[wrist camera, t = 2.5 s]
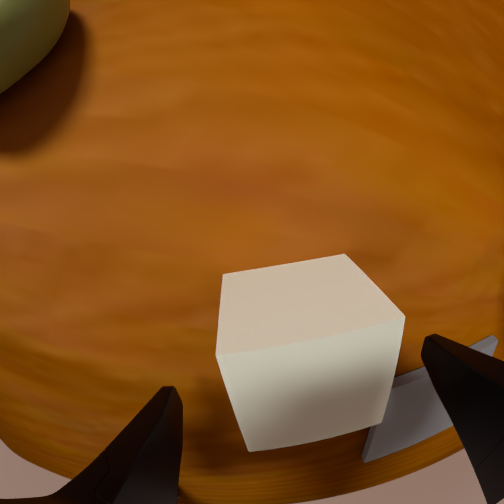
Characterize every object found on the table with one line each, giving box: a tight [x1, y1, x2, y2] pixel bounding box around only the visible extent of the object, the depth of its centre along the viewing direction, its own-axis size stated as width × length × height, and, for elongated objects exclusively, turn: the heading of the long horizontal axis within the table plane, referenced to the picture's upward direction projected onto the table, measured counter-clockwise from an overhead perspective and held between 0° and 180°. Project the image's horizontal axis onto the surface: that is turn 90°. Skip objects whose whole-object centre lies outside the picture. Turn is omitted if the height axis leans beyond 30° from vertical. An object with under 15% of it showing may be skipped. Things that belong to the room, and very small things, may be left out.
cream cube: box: [216, 254, 405, 452], centre depth 10 cm, size 5×5×5 cm
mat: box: [362, 335, 498, 463], centre depth 15 cm, size 10×10×1 cm
